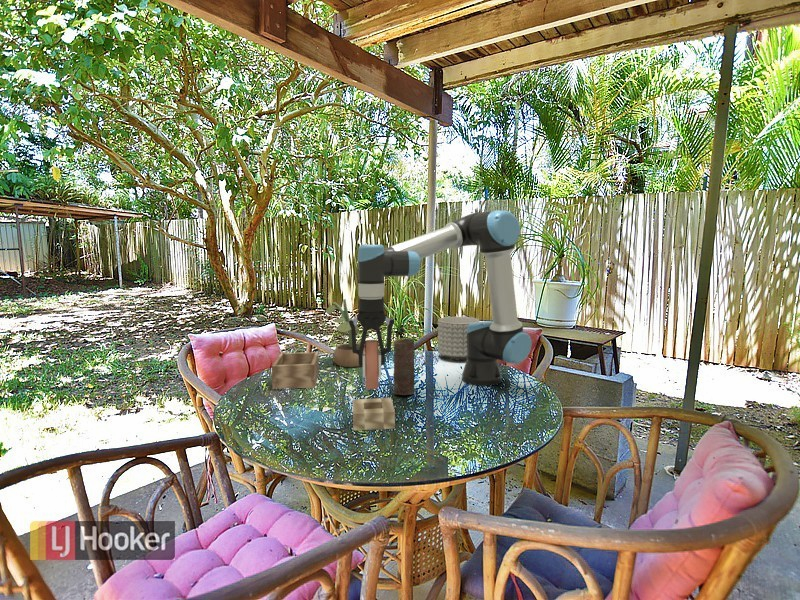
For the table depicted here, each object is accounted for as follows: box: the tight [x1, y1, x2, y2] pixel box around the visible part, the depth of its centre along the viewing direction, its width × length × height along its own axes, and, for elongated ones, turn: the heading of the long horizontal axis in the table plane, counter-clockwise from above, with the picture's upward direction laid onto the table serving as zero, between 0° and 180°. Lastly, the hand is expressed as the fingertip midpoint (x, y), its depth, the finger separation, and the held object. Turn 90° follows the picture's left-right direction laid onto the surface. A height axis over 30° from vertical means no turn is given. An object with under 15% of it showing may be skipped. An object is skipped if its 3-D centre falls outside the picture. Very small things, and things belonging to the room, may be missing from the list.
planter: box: [437, 316, 480, 361], centre depth 208 cm, size 19×19×18 cm
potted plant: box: [325, 298, 365, 368], centre depth 197 cm, size 22×18×30 cm
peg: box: [364, 339, 380, 390], centre depth 132 cm, size 4×4×14 cm
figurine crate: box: [271, 351, 320, 389], centre depth 175 cm, size 15×19×9 cm
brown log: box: [393, 338, 415, 396], centre depth 157 cm, size 8×7×20 cm
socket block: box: [352, 397, 396, 431], centre depth 134 cm, size 12×12×5 cm
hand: (371, 375), depth 133 cm, fingers closed on peg, 4 cm apart
